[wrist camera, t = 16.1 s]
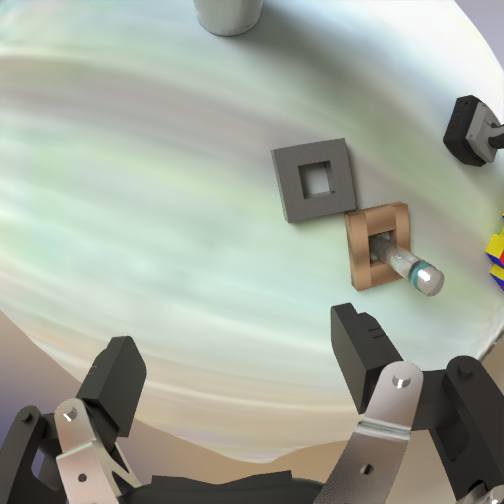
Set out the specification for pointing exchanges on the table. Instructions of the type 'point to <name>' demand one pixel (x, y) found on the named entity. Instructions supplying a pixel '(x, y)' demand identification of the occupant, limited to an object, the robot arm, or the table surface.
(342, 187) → the grey flat square frame
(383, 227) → the rack block
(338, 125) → the table surface
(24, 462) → the robot arm
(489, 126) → the cordless drill
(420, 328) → the table surface
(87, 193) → the table surface
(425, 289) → the clear test tube
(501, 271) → the building blocks toy
